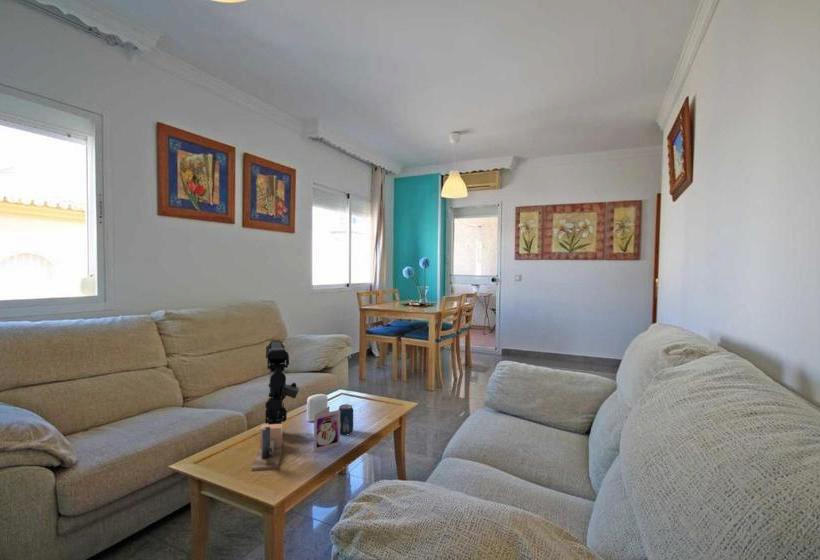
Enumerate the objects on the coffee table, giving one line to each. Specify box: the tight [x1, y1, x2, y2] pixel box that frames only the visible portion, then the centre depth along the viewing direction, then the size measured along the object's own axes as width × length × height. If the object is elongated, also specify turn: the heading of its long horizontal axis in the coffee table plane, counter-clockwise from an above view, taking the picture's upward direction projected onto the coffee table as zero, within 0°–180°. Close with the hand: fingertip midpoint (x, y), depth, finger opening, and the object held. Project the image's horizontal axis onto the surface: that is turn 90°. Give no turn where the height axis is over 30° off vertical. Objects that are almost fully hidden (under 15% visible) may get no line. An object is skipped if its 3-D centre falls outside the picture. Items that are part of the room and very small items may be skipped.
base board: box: [251, 441, 284, 471], centre depth 149 cm, size 20×9×1 cm, turn 12°
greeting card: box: [313, 406, 341, 453], centre depth 159 cm, size 11×7×15 cm, turn 126°
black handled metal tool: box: [262, 427, 272, 460], centre depth 148 cm, size 16×3×12 cm, turn 12°
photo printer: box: [306, 393, 329, 422], centre depth 187 cm, size 10×4×12 cm, turn 125°
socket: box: [259, 423, 283, 449], centre depth 156 cm, size 4×8×8 cm, turn 102°
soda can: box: [338, 403, 354, 436], centre depth 172 cm, size 7×7×12 cm
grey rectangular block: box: [261, 439, 276, 459], centre depth 149 cm, size 8×4×4 cm, turn 12°
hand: (276, 418), depth 154 cm, fingers open, 9 cm apart
